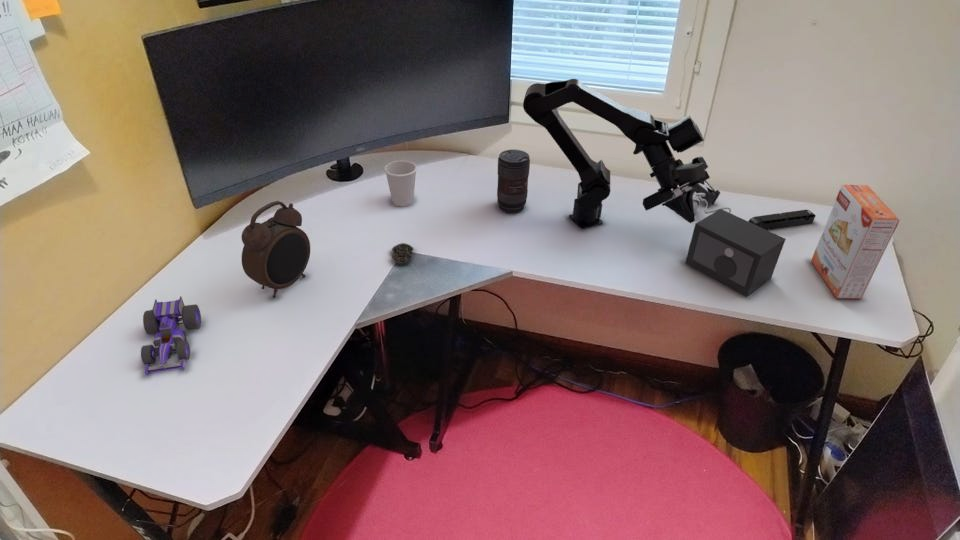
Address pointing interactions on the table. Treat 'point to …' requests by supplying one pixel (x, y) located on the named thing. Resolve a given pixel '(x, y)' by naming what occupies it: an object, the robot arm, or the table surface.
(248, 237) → the alarm clock
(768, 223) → the tablet stand
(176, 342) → the toy race car
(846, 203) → the cracker box
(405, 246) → the corroded twin loop
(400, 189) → the dixie cup
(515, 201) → the camera lens
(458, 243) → the table surface
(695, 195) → the clip-on lamp
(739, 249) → the speaker
